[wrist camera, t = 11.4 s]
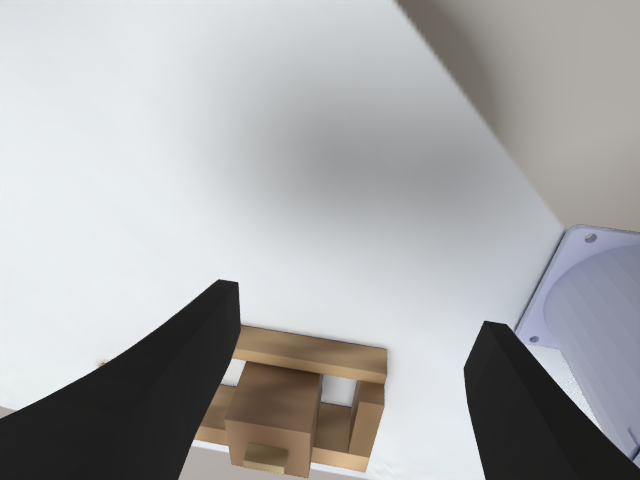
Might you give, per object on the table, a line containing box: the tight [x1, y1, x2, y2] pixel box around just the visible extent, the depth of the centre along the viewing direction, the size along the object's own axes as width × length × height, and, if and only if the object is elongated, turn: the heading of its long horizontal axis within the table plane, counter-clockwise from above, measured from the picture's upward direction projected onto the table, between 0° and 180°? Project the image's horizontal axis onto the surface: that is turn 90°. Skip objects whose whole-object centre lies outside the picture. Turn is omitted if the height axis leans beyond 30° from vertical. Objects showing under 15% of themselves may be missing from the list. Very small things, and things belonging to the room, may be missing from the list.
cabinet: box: [224, 361, 323, 478], centre depth 24 cm, size 5×5×7 cm
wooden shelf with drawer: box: [100, 325, 387, 472], centre depth 26 cm, size 22×9×4 cm, turn 86°
